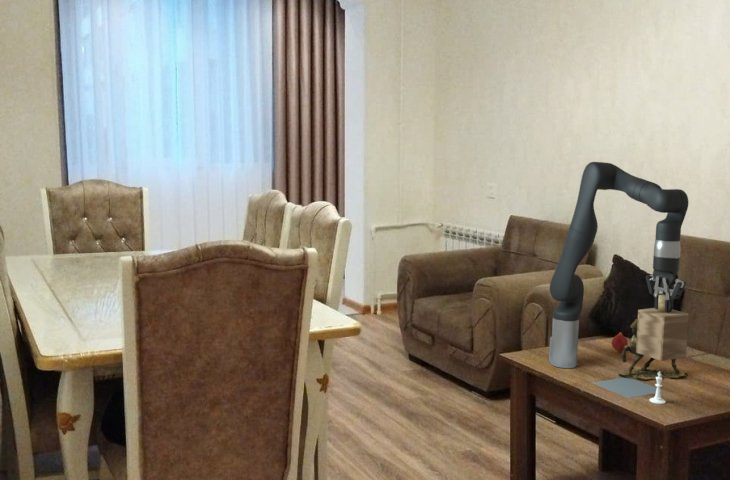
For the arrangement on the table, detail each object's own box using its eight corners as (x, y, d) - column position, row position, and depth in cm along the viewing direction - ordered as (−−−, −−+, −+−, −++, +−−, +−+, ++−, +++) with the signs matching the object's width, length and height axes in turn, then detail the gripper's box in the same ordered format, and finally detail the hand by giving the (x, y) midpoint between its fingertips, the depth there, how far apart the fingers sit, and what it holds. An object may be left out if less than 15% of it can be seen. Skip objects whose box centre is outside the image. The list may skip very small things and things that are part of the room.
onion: (608, 350, 289) (609, 330, 288) (620, 349, 291) (621, 329, 290) (617, 355, 284) (618, 334, 283) (630, 353, 285) (631, 333, 284)
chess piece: (661, 399, 234) (663, 369, 233) (668, 405, 230) (670, 374, 228) (646, 399, 234) (648, 369, 233) (653, 405, 229) (655, 374, 228)
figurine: (610, 370, 264) (613, 314, 262) (678, 370, 266) (681, 314, 264) (626, 380, 251) (630, 321, 249) (697, 380, 253) (701, 322, 251)
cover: (635, 352, 232) (639, 293, 230) (659, 348, 237) (662, 291, 234) (661, 360, 223) (665, 300, 221) (685, 356, 228) (689, 297, 225)
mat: (592, 384, 249) (592, 382, 249) (627, 378, 256) (627, 376, 256) (628, 399, 235) (628, 397, 235) (664, 392, 242) (664, 391, 242)
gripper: (639, 252, 231) (636, 307, 233) (676, 258, 218) (673, 316, 220) (657, 251, 234) (654, 305, 236) (694, 257, 221) (691, 314, 224)
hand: (663, 310), depth 228 cm, fingers closed on cover, 3 cm apart
